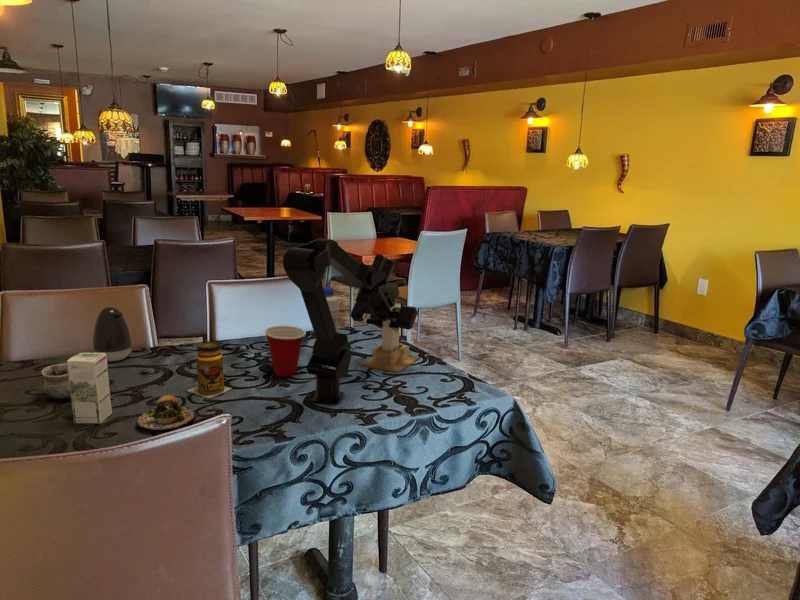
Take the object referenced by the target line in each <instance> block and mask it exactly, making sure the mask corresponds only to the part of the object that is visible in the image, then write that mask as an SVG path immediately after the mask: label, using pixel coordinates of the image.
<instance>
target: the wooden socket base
mask: <svg viewBox="0 0 800 600" xmlns="http://www.w3.org/2000/svg"><path fill="white" fill-rule="evenodd" d="M419 360H420V356H419V357H418V356H412V355H409V345H406V344H402V343H399V349H397V350H395V351H393V352H391V351H386V350H382V344H380V345H378V346H376V347H374V348H372V357H370V358H368V359H366V360H365V361H362V362H360V363H359V366H361V367H366V368H370V369H374V370H375V369H376V370H381V371H385V372H389V373H390V372H391V373H395V374H399V373H400V372H401V371H403V370H405V369H406V368H408V367H409V366H411V365H413V364H414V363H416V362H418V361H419Z"/></svg>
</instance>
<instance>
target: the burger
mask: <svg viewBox="0 0 800 600" xmlns="http://www.w3.org/2000/svg"><path fill="white" fill-rule="evenodd" d="M166 387H167V389H166V390H167V391H166V395H163V396H161V397H160V398H158V400H157V401H156V403H155V408H152V409H151V408H150V407H148V409H146V410H145V411H144V412H143V413H141V414H140V415H139V416H138V417H137V418H136V427H137V428H138V427H139V428H144V429H148V430H154V431H155V430H158V431H163V430H171V429H176V428H178V427H181V426H183V425H187V424H188V423H190V422H191V421H192V422H191V424H192V423H194V424H195V423H196V421H197V413H196V411H195V410H194V409H193V408H192V407H188V406H186V405H185V406H183V405H181V404H179V402H178V401H179V400H178V398H177V397H176V396H175V395H170V394H168V390H169V388H168V387H169V386H168V385H167V386H166Z"/></svg>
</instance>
